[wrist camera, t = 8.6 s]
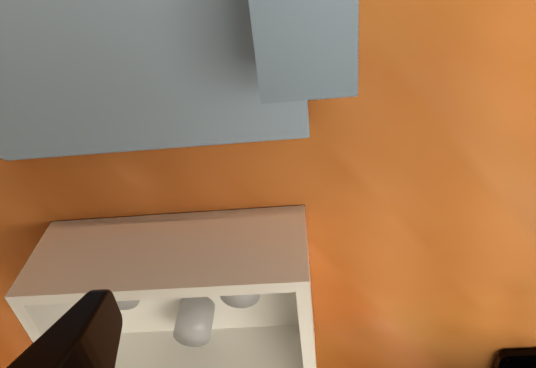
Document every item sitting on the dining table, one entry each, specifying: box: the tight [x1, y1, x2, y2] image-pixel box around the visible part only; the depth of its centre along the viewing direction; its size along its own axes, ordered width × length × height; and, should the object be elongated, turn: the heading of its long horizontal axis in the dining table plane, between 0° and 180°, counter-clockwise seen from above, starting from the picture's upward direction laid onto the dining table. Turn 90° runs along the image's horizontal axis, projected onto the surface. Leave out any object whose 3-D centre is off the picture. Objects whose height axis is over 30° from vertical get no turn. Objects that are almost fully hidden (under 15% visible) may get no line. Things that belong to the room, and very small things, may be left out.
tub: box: [4, 205, 317, 368], centre depth 24 cm, size 13×9×5 cm
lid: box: [0, 0, 359, 161], centre depth 16 cm, size 15×10×5 cm
